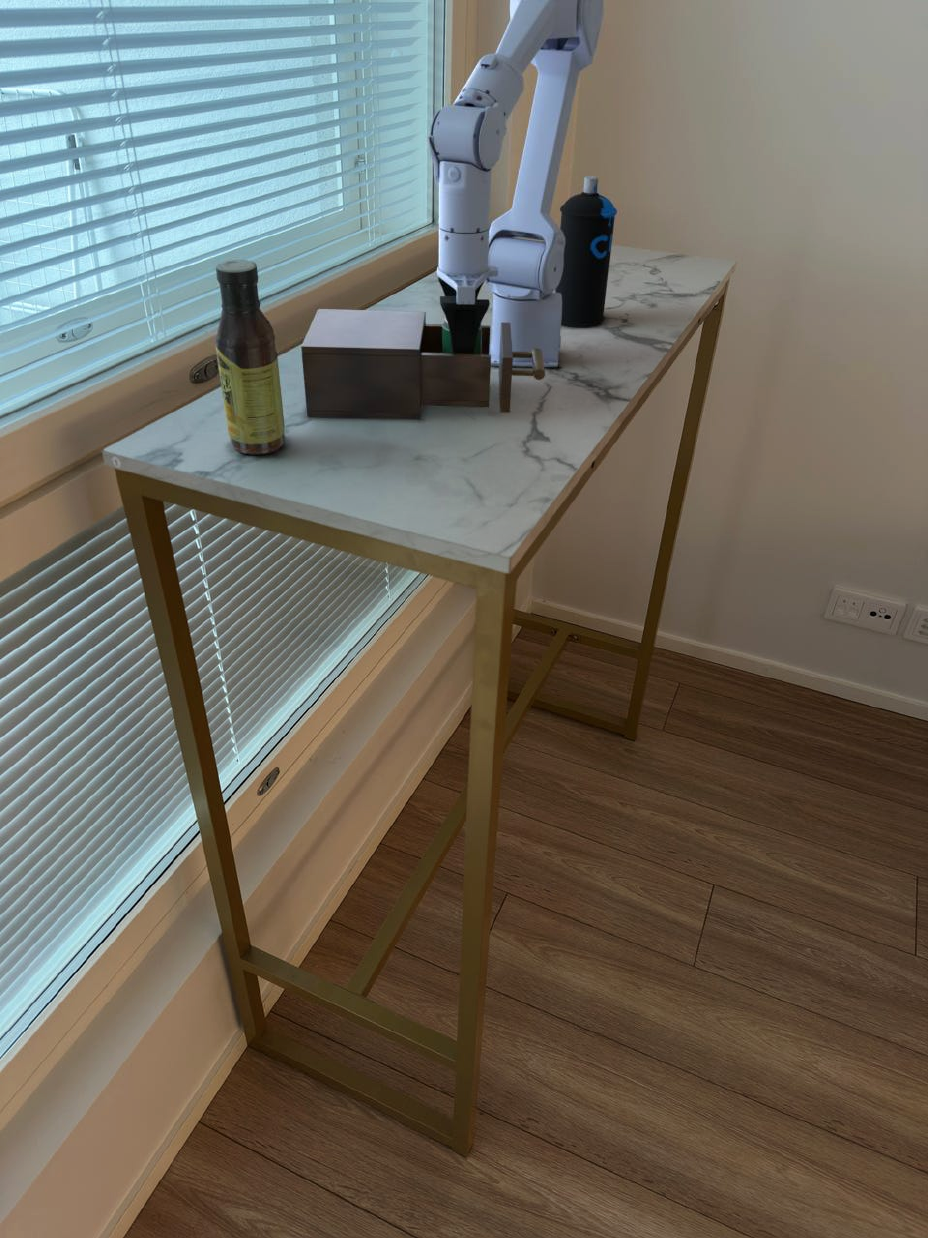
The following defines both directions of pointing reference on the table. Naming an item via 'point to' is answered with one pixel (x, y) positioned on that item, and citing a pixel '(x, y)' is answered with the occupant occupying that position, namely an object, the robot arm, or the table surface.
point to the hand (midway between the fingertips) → (461, 346)
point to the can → (448, 345)
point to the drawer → (470, 371)
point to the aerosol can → (586, 256)
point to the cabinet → (363, 364)
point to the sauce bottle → (248, 363)
